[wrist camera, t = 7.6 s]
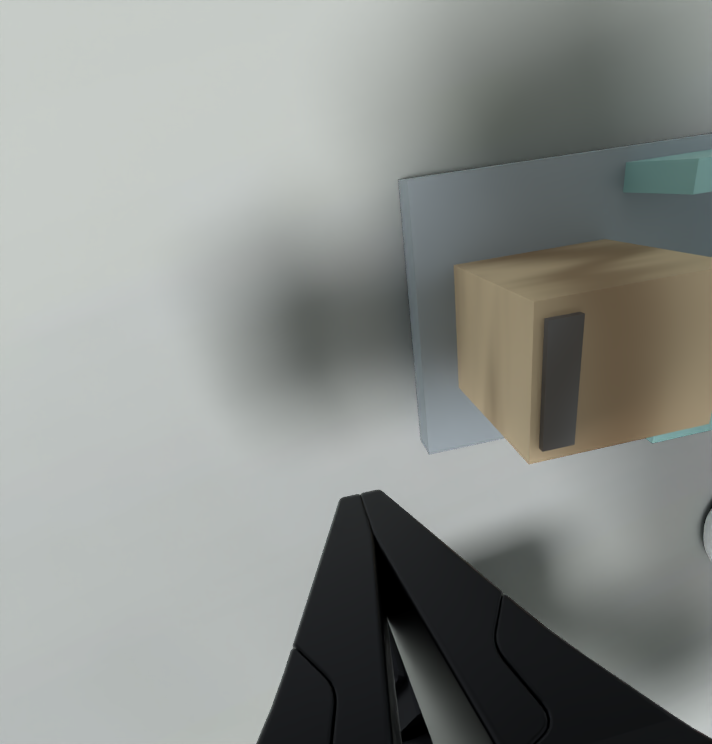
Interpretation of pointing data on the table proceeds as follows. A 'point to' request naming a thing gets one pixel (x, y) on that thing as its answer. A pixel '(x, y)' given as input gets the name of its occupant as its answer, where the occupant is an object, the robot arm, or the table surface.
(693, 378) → the cardboard box with slot
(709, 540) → the pill bottle
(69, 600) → the table surface
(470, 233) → the dock
